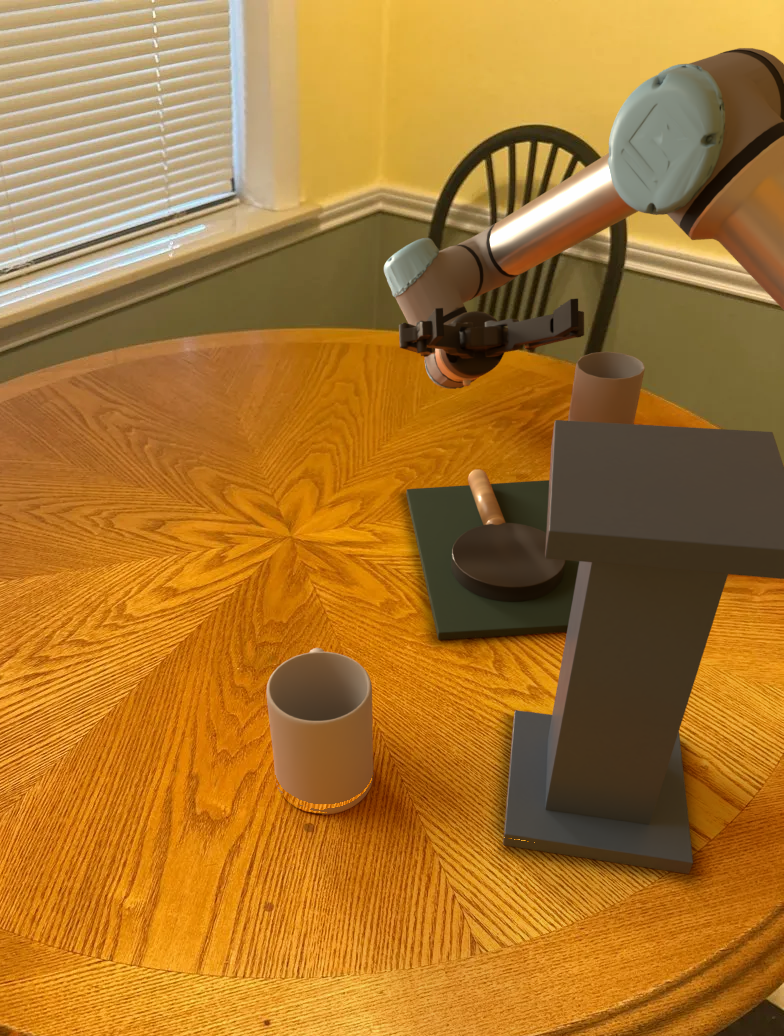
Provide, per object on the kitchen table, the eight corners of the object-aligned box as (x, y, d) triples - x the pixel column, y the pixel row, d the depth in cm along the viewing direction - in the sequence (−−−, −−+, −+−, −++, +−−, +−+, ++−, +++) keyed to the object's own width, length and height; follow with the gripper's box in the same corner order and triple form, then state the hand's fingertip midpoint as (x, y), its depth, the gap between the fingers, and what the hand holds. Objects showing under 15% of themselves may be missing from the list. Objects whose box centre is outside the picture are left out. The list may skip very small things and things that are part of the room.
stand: (675, 741, 78) (773, 431, 59) (689, 874, 68) (812, 552, 49) (513, 721, 81) (554, 419, 62) (502, 845, 71) (548, 530, 52)
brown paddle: (576, 598, 93) (579, 579, 91) (461, 605, 93) (462, 587, 91) (523, 479, 111) (525, 462, 110) (427, 485, 111) (428, 468, 110)
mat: (406, 495, 112) (406, 488, 111) (549, 486, 111) (550, 479, 111) (438, 640, 90) (438, 632, 90) (615, 629, 90) (617, 622, 89)
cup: (618, 456, 116) (632, 384, 110) (557, 442, 120) (567, 371, 113) (638, 429, 121) (652, 358, 115) (579, 416, 125) (590, 347, 118)
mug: (378, 812, 74) (377, 720, 67) (276, 819, 74) (265, 727, 67) (365, 710, 83) (364, 620, 76) (274, 716, 83) (264, 626, 76)
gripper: (570, 372, 111) (631, 347, 90) (371, 385, 112) (385, 364, 91) (569, 309, 110) (631, 269, 89) (368, 323, 110) (382, 287, 89)
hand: (507, 317), depth 90 cm, fingers open, 13 cm apart
